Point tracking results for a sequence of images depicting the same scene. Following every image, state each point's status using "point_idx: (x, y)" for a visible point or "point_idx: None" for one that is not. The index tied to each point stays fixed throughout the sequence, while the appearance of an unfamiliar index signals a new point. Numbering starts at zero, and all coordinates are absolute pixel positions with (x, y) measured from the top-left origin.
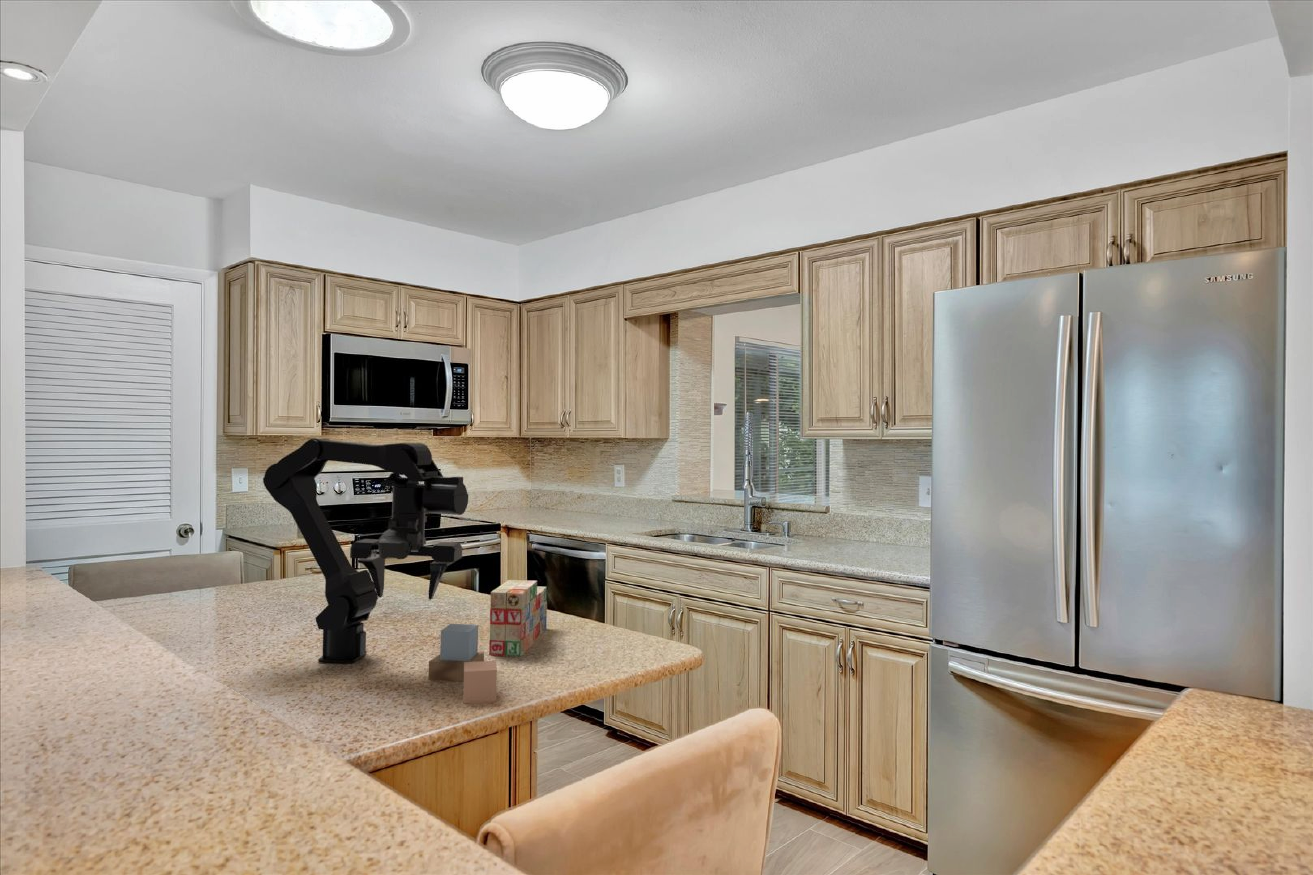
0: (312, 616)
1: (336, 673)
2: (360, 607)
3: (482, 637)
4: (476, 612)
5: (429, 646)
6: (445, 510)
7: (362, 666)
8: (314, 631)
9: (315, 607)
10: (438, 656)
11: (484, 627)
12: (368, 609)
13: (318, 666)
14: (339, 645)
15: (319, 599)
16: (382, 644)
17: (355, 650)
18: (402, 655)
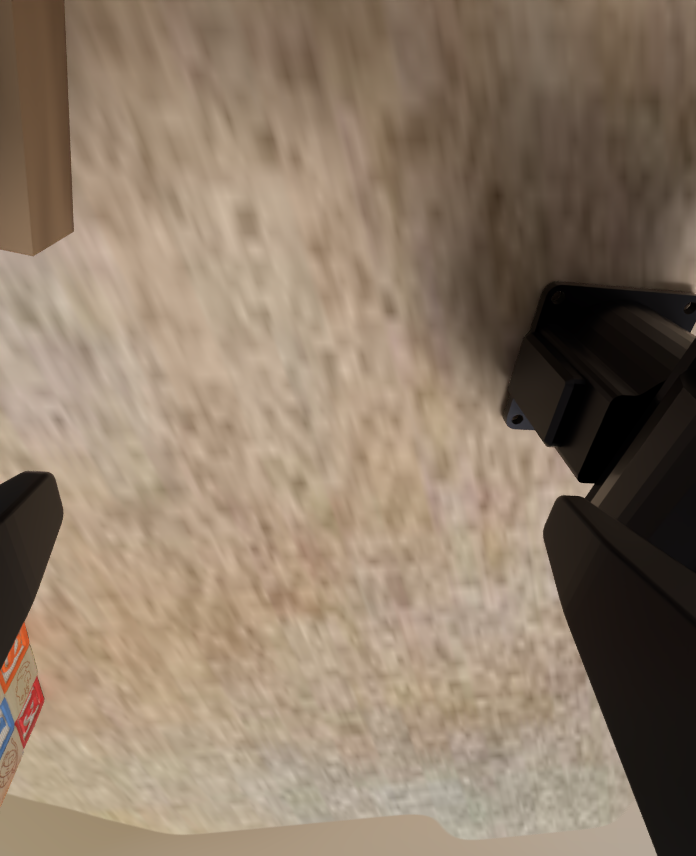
0: None
1: (609, 115)
2: (678, 425)
3: (120, 611)
4: (248, 782)
5: (277, 514)
6: None
7: (495, 242)
8: None
9: None
10: (3, 87)
11: (164, 690)
12: (593, 503)
13: (693, 240)
14: (649, 326)
15: None
16: (460, 525)
17: (557, 339)
18: (351, 406)
